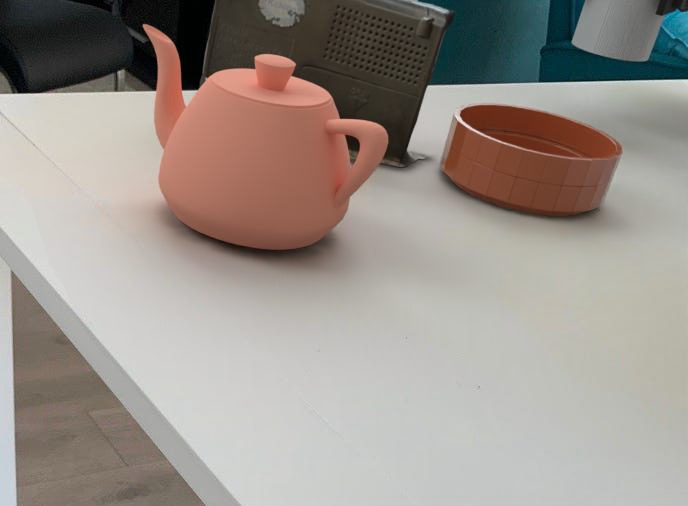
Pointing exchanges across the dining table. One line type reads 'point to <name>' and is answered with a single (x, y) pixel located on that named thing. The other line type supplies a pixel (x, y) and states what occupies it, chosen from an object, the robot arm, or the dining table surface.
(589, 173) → the bowl
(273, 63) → the teapot
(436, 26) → the radio
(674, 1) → the robot arm
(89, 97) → the dining table surface
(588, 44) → the cup
